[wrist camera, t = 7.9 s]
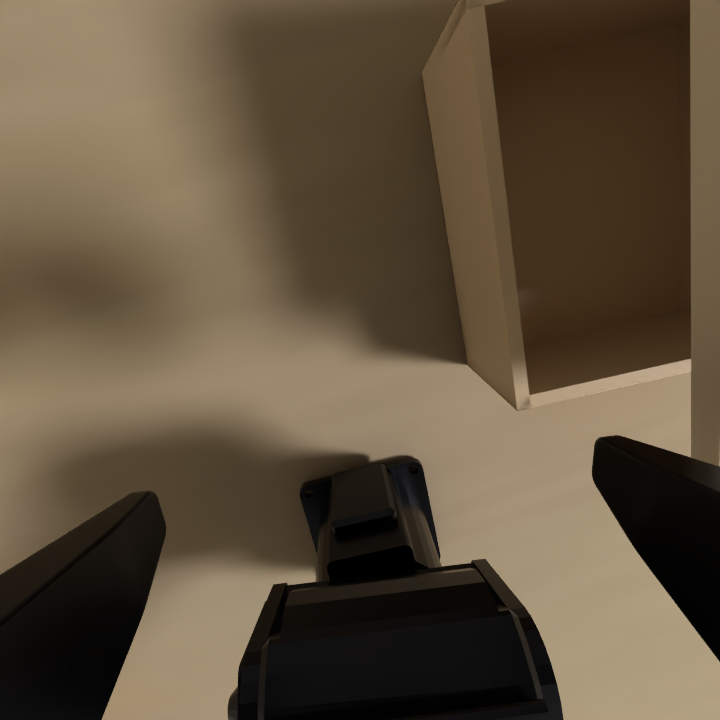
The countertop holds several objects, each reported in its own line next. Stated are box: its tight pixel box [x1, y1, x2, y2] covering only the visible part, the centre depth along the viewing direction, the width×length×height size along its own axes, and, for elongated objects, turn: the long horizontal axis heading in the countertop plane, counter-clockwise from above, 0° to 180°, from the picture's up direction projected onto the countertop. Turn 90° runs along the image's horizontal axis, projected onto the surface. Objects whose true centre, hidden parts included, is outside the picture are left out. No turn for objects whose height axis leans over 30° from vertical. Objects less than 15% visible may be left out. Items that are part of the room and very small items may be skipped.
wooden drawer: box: [422, 0, 691, 411], centre depth 16 cm, size 13×11×6 cm
